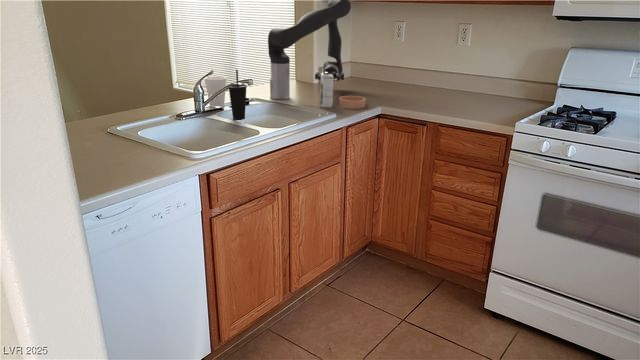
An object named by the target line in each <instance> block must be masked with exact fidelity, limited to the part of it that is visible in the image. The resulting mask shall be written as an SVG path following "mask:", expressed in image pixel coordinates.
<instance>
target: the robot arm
mask: <svg viewBox="0 0 640 360" xmlns="http://www.w3.org/2000/svg"><path fill="white" fill-rule="evenodd" d="M326 5H327V7H323V8H320V9H319V8H318V9H316V10H312V11H309V12H308V13H306V14H304V15H302V16H301V18H299V20H298V22H297V23H296V24H295V25H292V26H290V27H287V28H281V27H274V28H271V29H270V30H269V32H268V36H267V47H268V56H269V59H270V79H269V88H270V89H269V91H270V92H269V93H270V94H269V95H270V98H269V99H274V100H289V99H290V96H291V91H290V90H291V86H290V82H291V79H290V78H291V76H290V75H291V74H290V73H291V72H290V71H291V69H290V67H291V66H290V65H291V64H290V63H291V61H290V60H291V58H290V57H289V56H290V55H288V54H287V53H286V52H285V49H289V48H290V47H292V46H293V45H294V44H296V43H297V42H298V41H300V40H301V39H303V38H306V37H307V36H309V35H310V34H313V33H315V32H316V31H318V30H320V29H322V28H323V27H326V26H327V27H328V45H327V56H328V57H330V58H332V59H333V58H334V59H335V60H336V61H325V62H324V63H323V66H322V69H323V72H321V73H320V72H316V73H315V74H314V79H315V81H316V80H319V82H321V74H332V75H333V77H334V78H333V82H335V81H336V82H339V81H344V80H345V72H344V71H343V63H342V56H341V55H342V54H341V53H342V37H341V34H340V31H339V27H338V20H339V19H342V18H343V17H347V16H348V15H349V13H350V11H351V8H352V4H351V1H350V0H328V1H327V4H326Z"/></svg>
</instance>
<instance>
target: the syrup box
mask: <svg viewBox="0 0 640 360" xmlns="http://www.w3.org/2000/svg"><path fill="white" fill-rule="evenodd" d="M320 74H321V73H320ZM333 78H334V77H333V75H332V74H321V81H320V86H319V87H320V88H319V90H320V91H319V107H320V108H333V98H334V81H333Z"/></svg>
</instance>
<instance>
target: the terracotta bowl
mask: <svg viewBox="0 0 640 360" xmlns="http://www.w3.org/2000/svg"><path fill="white" fill-rule="evenodd" d="M338 106H339V107H340V108H342V109H350V110H351V109H353V110H354V109H355V110H356V109H363V108H366V97H363V96H358V95H343V96H339V97H338Z"/></svg>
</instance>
